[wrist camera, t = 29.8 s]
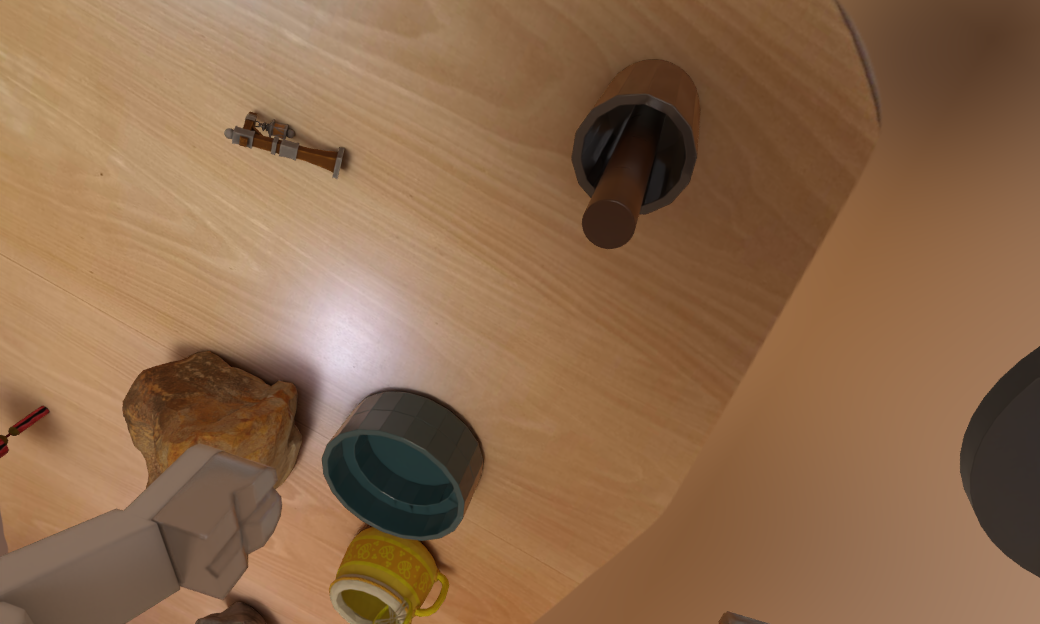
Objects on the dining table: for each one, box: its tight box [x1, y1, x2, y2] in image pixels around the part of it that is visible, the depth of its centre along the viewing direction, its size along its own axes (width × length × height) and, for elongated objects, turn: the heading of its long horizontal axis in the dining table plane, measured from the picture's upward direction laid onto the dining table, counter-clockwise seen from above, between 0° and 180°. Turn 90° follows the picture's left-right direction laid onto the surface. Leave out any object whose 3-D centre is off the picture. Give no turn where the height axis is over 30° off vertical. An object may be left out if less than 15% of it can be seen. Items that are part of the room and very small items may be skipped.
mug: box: [329, 527, 449, 624], centre depth 66 cm, size 13×11×12 cm
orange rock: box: [123, 351, 302, 489], centre depth 58 cm, size 23×17×15 cm
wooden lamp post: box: [224, 112, 344, 179], centre depth 44 cm, size 2×8×4 cm, turn 67°
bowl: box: [322, 391, 483, 541], centre depth 57 cm, size 14×14×6 cm
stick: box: [582, 104, 666, 249], centre depth 29 cm, size 2×2×18 cm
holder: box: [571, 59, 700, 214], centre depth 33 cm, size 6×6×10 cm
